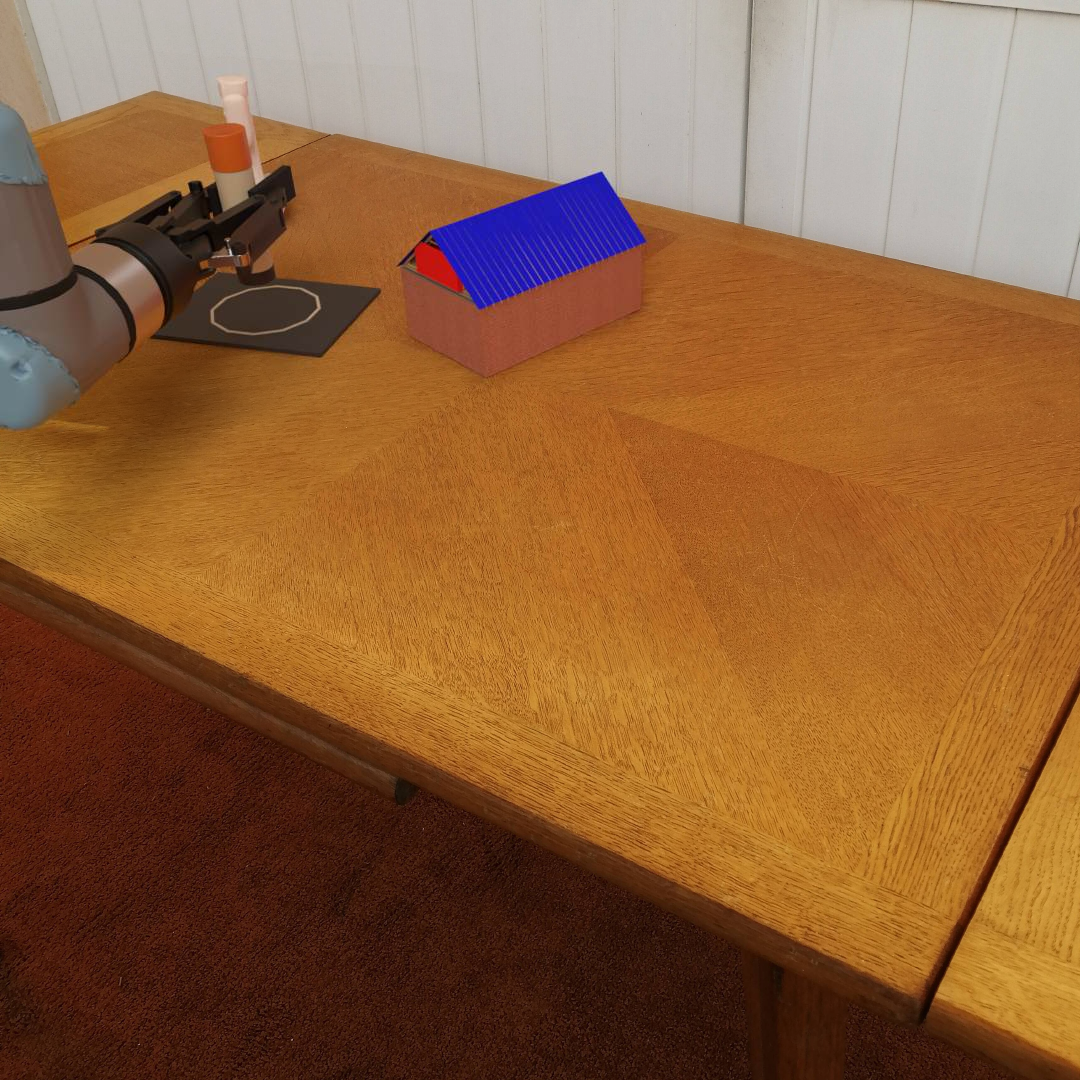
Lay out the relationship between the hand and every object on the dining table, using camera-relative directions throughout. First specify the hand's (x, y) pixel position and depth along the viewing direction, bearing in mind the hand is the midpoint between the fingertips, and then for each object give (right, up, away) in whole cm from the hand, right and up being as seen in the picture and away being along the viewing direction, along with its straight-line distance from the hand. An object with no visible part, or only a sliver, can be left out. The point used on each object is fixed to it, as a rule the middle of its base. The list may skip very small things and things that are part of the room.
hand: (269, 179), depth 100 cm
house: (+23, -11, +6) cm, 26 cm away
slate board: (-3, -10, +8) cm, 13 cm away
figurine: (-9, +5, +27) cm, 29 cm away
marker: (-1, -9, 0) cm, 9 cm away
